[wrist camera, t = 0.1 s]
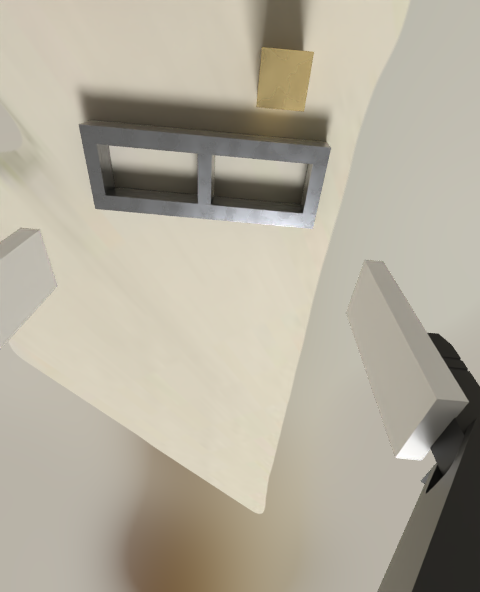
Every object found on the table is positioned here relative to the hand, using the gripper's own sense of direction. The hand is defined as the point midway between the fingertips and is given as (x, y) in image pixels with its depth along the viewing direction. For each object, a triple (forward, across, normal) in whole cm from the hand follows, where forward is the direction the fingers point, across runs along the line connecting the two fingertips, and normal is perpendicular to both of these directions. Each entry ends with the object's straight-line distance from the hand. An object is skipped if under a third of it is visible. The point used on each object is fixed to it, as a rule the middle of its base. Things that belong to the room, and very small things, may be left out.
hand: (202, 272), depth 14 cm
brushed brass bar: (+28, +4, +6) cm, 29 cm away
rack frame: (+28, -3, -4) cm, 28 cm away
